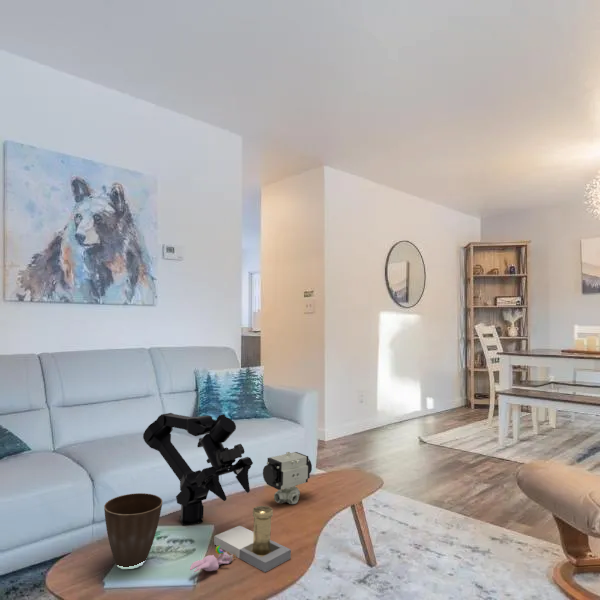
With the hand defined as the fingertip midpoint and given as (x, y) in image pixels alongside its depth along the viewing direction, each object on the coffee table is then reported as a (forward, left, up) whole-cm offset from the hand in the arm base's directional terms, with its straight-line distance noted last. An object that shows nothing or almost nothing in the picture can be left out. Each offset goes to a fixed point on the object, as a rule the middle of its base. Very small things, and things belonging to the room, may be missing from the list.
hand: (237, 496), depth 142 cm
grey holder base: (+2, -6, -14) cm, 15 cm away
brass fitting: (+4, -11, -14) cm, 18 cm away
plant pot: (-30, -2, -14) cm, 33 cm away
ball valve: (+26, +23, -14) cm, 38 cm away
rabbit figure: (-10, -12, -14) cm, 21 cm away
